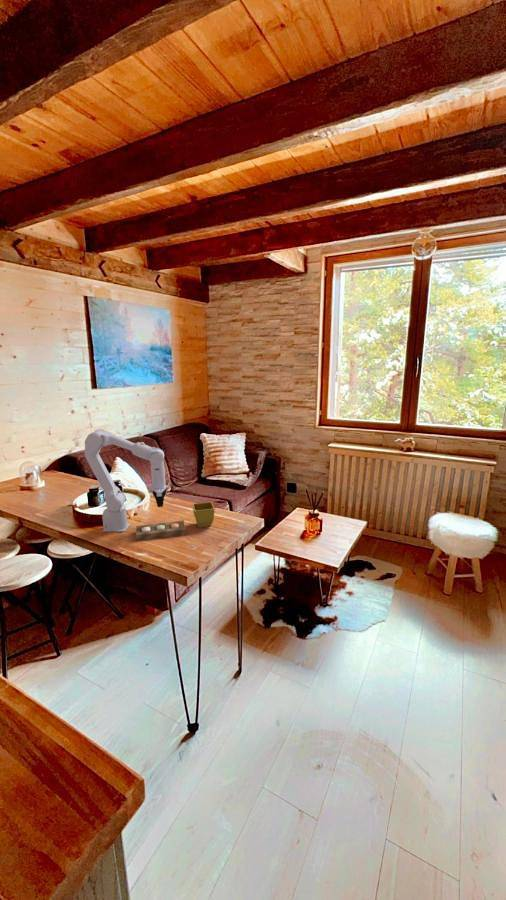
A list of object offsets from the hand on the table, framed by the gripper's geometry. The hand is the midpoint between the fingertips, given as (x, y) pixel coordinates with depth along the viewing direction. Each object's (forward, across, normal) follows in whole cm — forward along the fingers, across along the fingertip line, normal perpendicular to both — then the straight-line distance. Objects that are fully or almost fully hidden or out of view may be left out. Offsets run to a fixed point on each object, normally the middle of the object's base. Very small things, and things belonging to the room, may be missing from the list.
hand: (160, 506), depth 166 cm
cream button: (+9, -7, +6) cm, 13 cm away
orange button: (+9, -7, -6) cm, 13 cm away
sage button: (+9, -7, 0) cm, 12 cm away
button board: (+9, -7, 0) cm, 12 cm away
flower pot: (+9, -4, -18) cm, 21 cm away
